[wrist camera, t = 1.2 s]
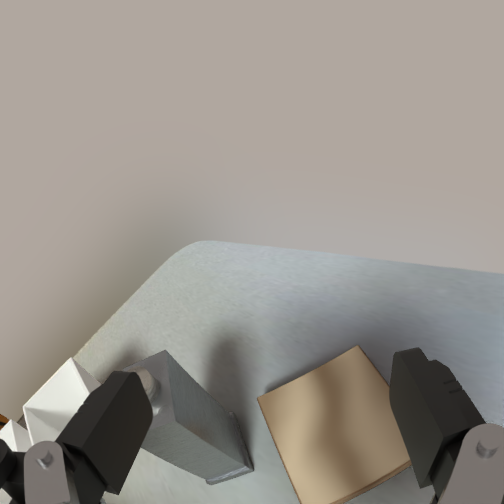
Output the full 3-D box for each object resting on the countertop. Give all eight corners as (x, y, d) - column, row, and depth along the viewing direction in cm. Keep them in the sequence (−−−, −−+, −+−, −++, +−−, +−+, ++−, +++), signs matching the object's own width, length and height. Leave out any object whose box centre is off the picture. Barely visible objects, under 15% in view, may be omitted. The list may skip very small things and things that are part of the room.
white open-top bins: (121, 400, 39) (70, 356, 33) (157, 445, 31) (96, 405, 25) (31, 487, 27) (-23, 456, 21) (52, 538, 19) (-13, 513, 13)
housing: (235, 414, 32) (157, 334, 23) (254, 470, 25) (165, 413, 17) (197, 429, 31) (109, 356, 23) (211, 485, 25) (107, 432, 17)
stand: (360, 357, 32) (358, 342, 30) (428, 452, 20) (433, 445, 18) (264, 407, 31) (255, 396, 29) (311, 516, 19) (304, 515, 18)
